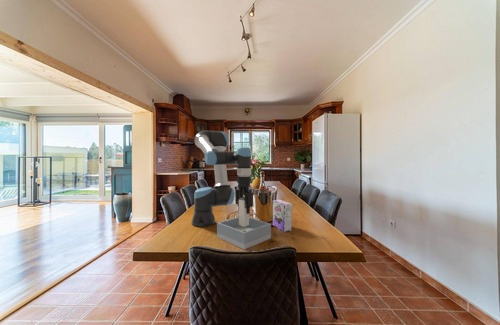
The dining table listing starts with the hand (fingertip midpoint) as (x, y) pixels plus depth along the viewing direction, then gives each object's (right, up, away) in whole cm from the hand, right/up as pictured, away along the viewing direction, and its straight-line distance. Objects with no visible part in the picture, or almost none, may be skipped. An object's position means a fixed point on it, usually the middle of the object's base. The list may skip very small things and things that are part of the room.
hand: (243, 218), depth 118 cm
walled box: (0, -11, 0) cm, 11 cm away
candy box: (+23, -11, +17) cm, 30 cm away
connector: (0, -4, 0) cm, 4 cm away
